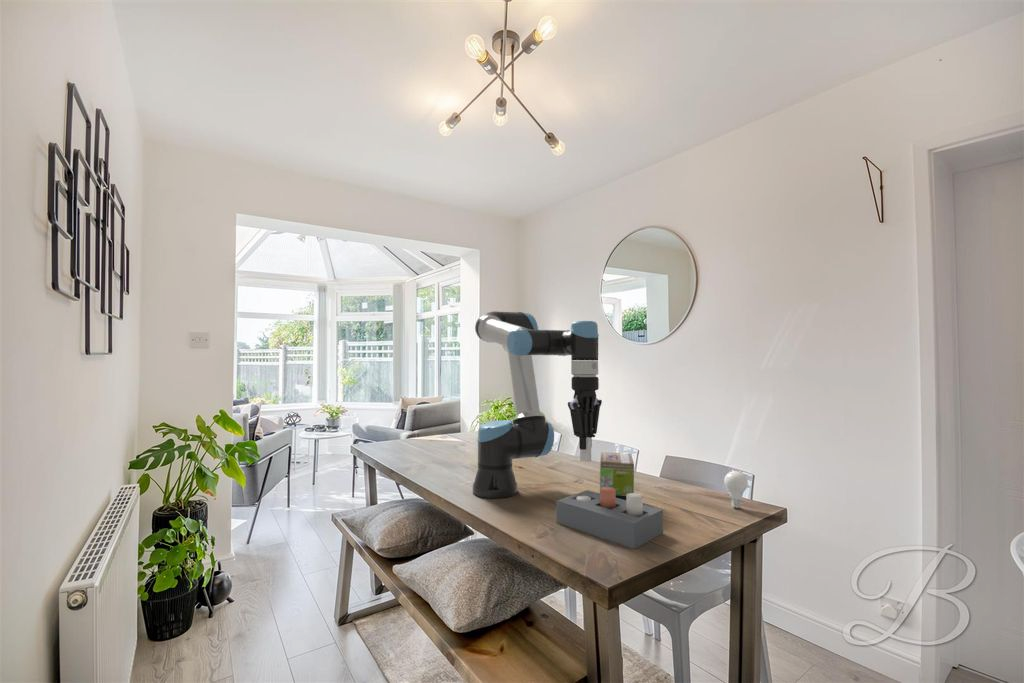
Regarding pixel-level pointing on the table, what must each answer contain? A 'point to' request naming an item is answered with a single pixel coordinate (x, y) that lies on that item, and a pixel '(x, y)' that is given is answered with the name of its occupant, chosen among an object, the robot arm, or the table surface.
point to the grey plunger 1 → (583, 498)
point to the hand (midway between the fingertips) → (585, 460)
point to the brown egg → (607, 497)
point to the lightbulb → (736, 487)
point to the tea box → (617, 473)
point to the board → (609, 520)
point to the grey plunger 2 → (634, 504)
